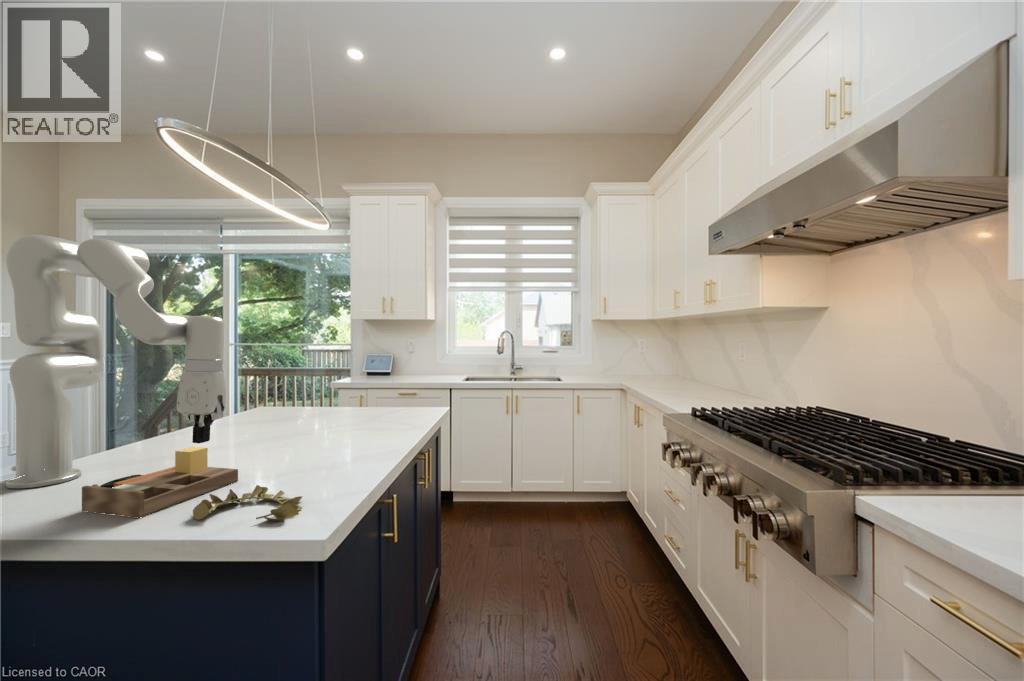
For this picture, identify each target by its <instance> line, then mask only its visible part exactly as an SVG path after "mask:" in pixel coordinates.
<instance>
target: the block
mask: <svg viewBox="0 0 1024 681" xmlns="http://www.w3.org/2000/svg"><path fill="white" fill-rule="evenodd" d="M208 452H209V451H208V447H203V446H191V447H186V448H183V449H178V450H175V453H174V454H175V457H174V458H175V463H174V465H175V466H174V467H175V472H183V473H192V472H195V471H199V470H202V469H205V468H207V467H208Z"/></svg>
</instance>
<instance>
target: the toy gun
mask: <svg viewBox="0 0 1024 681" xmlns="http://www.w3.org/2000/svg"><path fill="white" fill-rule="evenodd" d="M174 469H175V466H172V467H168V468H164V469H162V470H159V471H155V472H150V473H147V474H131V475H128V476H123V477H120V478H117V479H112V480H110V481H108V482H105V483H103V484H101V485H99V484H98V483H94V484H92V485H91V486H96V487H106V488H112V487H116V486H120V485H123V484H127V483H130V482H133V481H137V480H140V479H144V478H147V477H151V476H154V475H157V474H161V473H164V472H168V471H171V470H174Z"/></svg>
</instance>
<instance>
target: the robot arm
mask: <svg viewBox="0 0 1024 681" xmlns="http://www.w3.org/2000/svg"><path fill="white" fill-rule="evenodd" d="M5 258H6V268H7V273H8V276H9V278H10V282H11V286H12V290H13V302H14V303H13V304H14V314H15V315H14V316H15V317H14V318H15V326H16V327H15V328H16V335H17V338H18V340H19V341H20V342H21V343H22V344H23V345H26V346H29V347H34V348H35V347H36V348H37V347H38V348H64V351H62V352H61V351H54V352H53V351H52V352H51V351H49V352H47V351H46V352H45V351H44V352H33V353H30V354H25V355H22V356H21V357H17V359H16V360H14V362H13V363H12V364H11V365H10V367H9V372H8V374H9V379H10V383H11V386H12V389H13V394H14V401H15V465H13V466H12V467H11V468H10V469H11V471H12V472H15V477H12V478H11V479H13V478H17V477H19V476H22V477H20V478H17V479H14V480H10V479H8V480H9V481H8V480H6V481H5V487H6V488H7V489H32V488H39V487H40V488H41V487H47V486H51V485H57V484H61V483H65V482H68V481H71V480H72V481H73V480H74V479H77V478H79V477H81V476H82V470H81V469H79V468H73V457H74V455H73V452H74V450H73V446H74V443H73V441H74V440H73V437H74V434H73V432H74V430H73V428H74V427H73V426H74V421H73V420H74V416H73V415H74V413H73V412H74V409H73V404H72V402H71V399H70V398H69V397H68V395H67V394H66V393H65V391H64V390H71V389H79V388H87V387H91V386H94V385H95V384H97V383H98V382H100V380H101V379H102V377H103V374H104V371H105V370H104V369H105V360H104V348H103V346H104V344H103V332H102V327H101V325H100V323H99V322H98V321H99V320H97V319H96V317H94V316H93V315H92V314H89V313H88V312H84V311H80V310H79V311H78V310H68V309H67V306H66V297H65V296H66V294H65V291H64V289H63V287H62V285H61V284H60V282H59V281H58V280H57V278H55V276H53V273H58V274H66V275H72V276H79V277H86V278H95V279H96V280H98V281H99V282H100V283H101V285H103V287H105V288H106V289H107V291H108V292H109V293H110V294H111V295H112V296H113V297H114V299H113V309H114V313H115V316H116V318H117V320H118V322H119V323H120V324H121V325H122V326H123V327H124V328H125V329H126V330H127V331H128V332H129V333H130V334H131V335H132V336H133V337H135V338H136V339H137V340H139V341H141V342H143V343H144V344H148V345H152V346H154V345H155V346H163V345H164V346H165V345H166V346H168V345H169V346H171V345H172V346H175V345H176V346H177V345H178V346H179V345H180V346H181V345H183V346H184V345H185V350H184V351H185V354H184V356H185V358H184V371H182V373H181V375H180V379H179V384H178V387H177V388H178V389H177V396H176V397H177V398H176V410H177V412H178V413H180V414H181V415H182V416H183V417H185V418H188V420H189V421H190V425H191V427H192V441H191V442H192V443H193V444H203V443H207V442H209V441H210V439H211V426H213V424H214V421H216V420H220V419H223V412H224V411H225V410H226V403H227V394H226V393H227V392H226V390H227V389H226V380H225V374H224V372H223V367H224V365H223V364H224V341H225V321H224V319H223V318H221V317H219V316H211V315H210V316H209V315H189V314H177V313H168V312H157V311H156V310H155V309H154V308H153V307H151V305H150V304H149V303H148V302H147V301H146V300H145V298H146V297H147V296H149V294H151V293H152V291H153V289H154V288H155V283H154V280H153V278H152V277H151V276H150V275H149V274H148V271H149V270H150V266H151V264H150V258H149V256H148V255H147V254H146V252H144V250H142V249H141V248H139V247H137V246H134V245H132V244H129V243H123V242H119V241H116V240H111V239H106V238H98V237H97V238H90V239H87V240H84V241H82V242H80V241H79V242H77V241H73V240H69V239H65V238H61V237H55V236H51V235H49V236H48V235H43V234H31V235H25V236H22V237H20V238H18V239H17V240H15V241H14V242H13V243H12V244H11V245H10V247H9V249H8V251H7V254H6V257H5ZM44 469H45V470H44ZM23 475H25V476H23Z"/></svg>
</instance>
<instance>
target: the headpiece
mask: <svg viewBox="0 0 1024 681" xmlns="http://www.w3.org/2000/svg"><path fill="white" fill-rule="evenodd" d="M268 490H269V488H268V487H267V486H261V485H258V484H257V485H256V486H255V487H254V489H253V491H252V492H247V493H243V494H242V496H241V497H238V495H237V494H236V493H235V492H234V490H232V489H231V488H230V489H229V492H228V494H227V496H226V498H225V499H224V500H223V499H221V498H220V497H219V496H217V495H216V494H215V495H214V494H211V493H208V494H209V498H210V499H211V501H210V500H208V499H205V498H204V499H202V500H201V501H199V500H197V502H198V504H197V505H196V506H194V508H193V510H192V516H193V518H194V519H195V520H201V519H204V518H205V517H206V516H208V515H211V512H213V510H214V509H215V508H217V507H218V508H221V507H223V506H224V505H225V504H227V503H235V502H236V503H243V502H245V501H246V500H253V499H254V500H255V499H256V501H260V499H263V500H269V501H274V502H276V503H277V502H278V503H279V504H280V506H279V507H277V508H274V509H270V511H269V512H270V513H269V514H265V515H262V516H256V517H255V519H256V520H259V519H265V520H267V521H270V522H282V521H285V520H286V519H290V518H292V517H293V518H294V517H296V516H297V515H299V514H300V513H299V511H302V510H303V509H302V508H303V507H302V506H301V505H298V503H299V502H300V501H301V499H302V498H303V497H304V496H299V495H298V496H295V497H291V498H288V497H285V496H284V495H285V492H284V491H283V490H279V491H278V492H277V493H276V494H273V493H272V494H271V493H270V494H269V493H267V492H268ZM282 500H284V501H282ZM301 509H302V510H301ZM270 516H274V517H275V518H272V517H270Z"/></svg>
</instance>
